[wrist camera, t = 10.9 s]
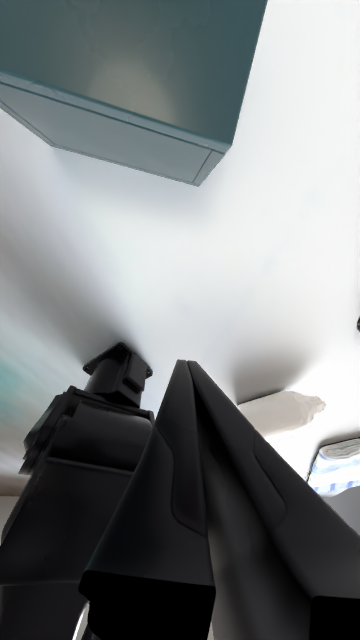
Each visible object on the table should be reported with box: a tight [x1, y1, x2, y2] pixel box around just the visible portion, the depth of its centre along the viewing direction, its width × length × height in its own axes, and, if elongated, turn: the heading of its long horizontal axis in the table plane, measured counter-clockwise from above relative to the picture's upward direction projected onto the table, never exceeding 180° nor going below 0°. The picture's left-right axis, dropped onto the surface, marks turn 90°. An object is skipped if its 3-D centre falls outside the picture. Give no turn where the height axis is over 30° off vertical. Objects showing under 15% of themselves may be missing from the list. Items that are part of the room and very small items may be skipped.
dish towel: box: [308, 438, 360, 493], centre depth 42 cm, size 17×24×3 cm
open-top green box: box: [0, 81, 226, 187], centre depth 8 cm, size 9×11×7 cm
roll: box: [237, 391, 326, 441], centre depth 26 cm, size 6×12×6 cm, turn 110°
